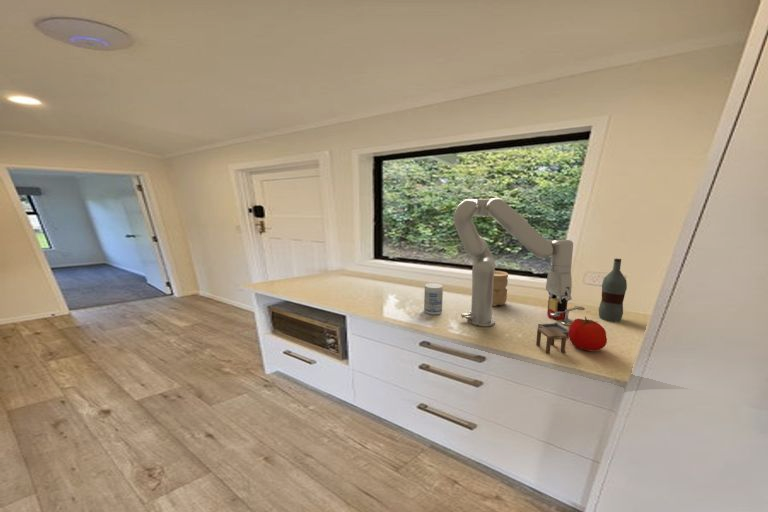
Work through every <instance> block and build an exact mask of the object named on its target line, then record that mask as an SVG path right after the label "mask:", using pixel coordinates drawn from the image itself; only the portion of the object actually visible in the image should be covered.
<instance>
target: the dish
mask: <svg viewBox="0 0 768 512" xmlns="http://www.w3.org/2000/svg"><path fill="white" fill-rule="evenodd" d="M551 327H554V328H556V329H557V330H559V331H561V332H562V333H564V334H565V335H567V336H566V338H568V337H569V334H568V331H569V329H567V328H566V327H564V326H563V325H562V324H561V325H560V324H559V323H558V322H553V323H538V324H537V329H538V328H551Z"/></svg>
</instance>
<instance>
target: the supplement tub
mask: <svg viewBox="0 0 768 512" xmlns="http://www.w3.org/2000/svg"><path fill="white" fill-rule="evenodd" d="M443 289H444V287H443V285H442V284H440V283H436V282H435V283H433V282H431V283H430V282H429V283H426V284H425V285H424V298H423V299H424V300H423V304H424V305H423V311H424V312H425V313H426V314H428V315H431V316H432V315H435V316H436V315H439V314H441V313H442V312H443V298H444V297H443V294H444V291H443Z"/></svg>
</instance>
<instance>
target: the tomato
mask: <svg viewBox="0 0 768 512" xmlns="http://www.w3.org/2000/svg"><path fill="white" fill-rule="evenodd" d="M598 322H600V321H594V320H593V319H588V318H587V316H584V319H583V318H575V320H573V321H572V323H571V326H568V327H569V328H568V330H569V331H568V334H569V336H568V339H569V341H570V343H571V345H573V346H575V347H576V348H578V349H581V350H585V351H590V352H597V351H601V349H603V348H605V346H606V345H607V342H608V338H607V332H606V329H605V327H603V326H602V325H601V324H600V323H598Z"/></svg>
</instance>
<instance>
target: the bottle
mask: <svg viewBox="0 0 768 512" xmlns="http://www.w3.org/2000/svg"><path fill="white" fill-rule="evenodd" d="M621 264H622V259H621V258H614V260H613V266H612V270H611V271H610V272H609V273H608V274H607V275H606V276H605V277H604V278H603V280H602V284H601V301H600V303H599V307H598V317H599V319H601V321H602V320H603V321H605V322H609V323H620V322H621V320H622V318H623V315H624V305H623V304H624V300H625V297H626V296H625V295H626V291H627V289H628V285H627V284H628V283H627V279H626V278H625V276H624V274H623V272H622V271H621Z"/></svg>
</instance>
